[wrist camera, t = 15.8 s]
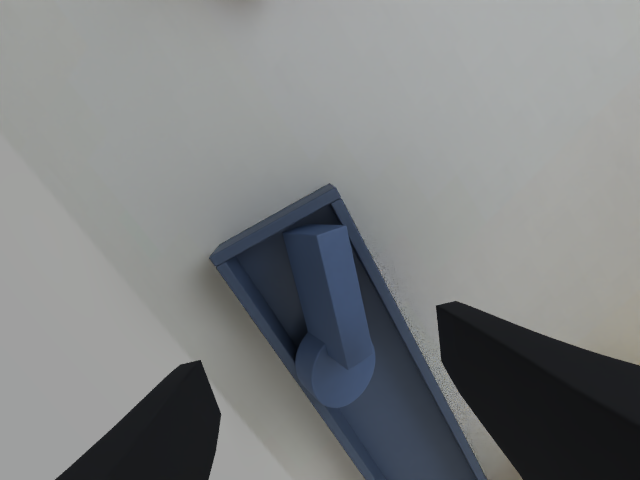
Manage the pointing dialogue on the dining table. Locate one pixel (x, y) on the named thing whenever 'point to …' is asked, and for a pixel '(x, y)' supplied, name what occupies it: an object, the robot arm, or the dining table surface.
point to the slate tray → (387, 338)
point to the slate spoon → (330, 315)
